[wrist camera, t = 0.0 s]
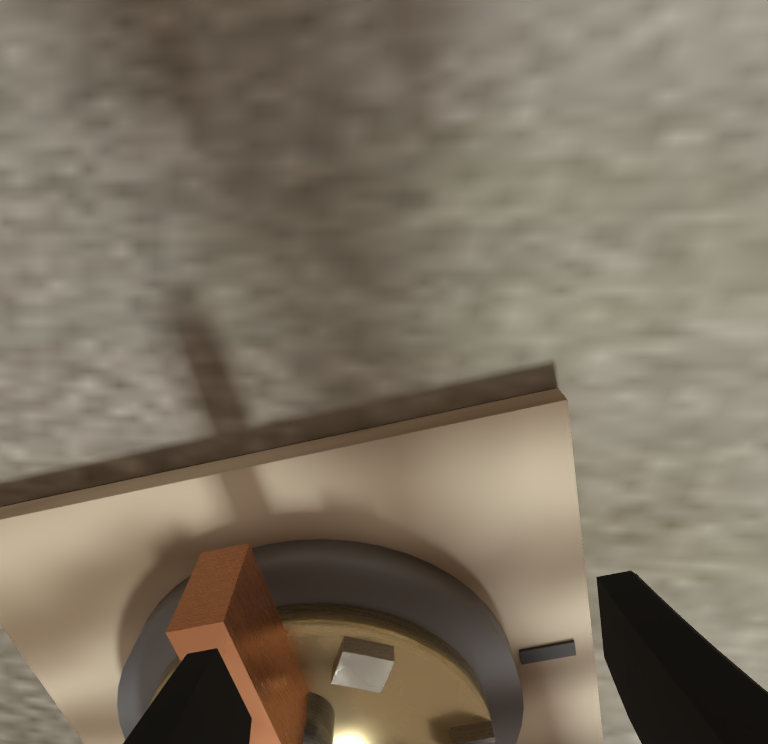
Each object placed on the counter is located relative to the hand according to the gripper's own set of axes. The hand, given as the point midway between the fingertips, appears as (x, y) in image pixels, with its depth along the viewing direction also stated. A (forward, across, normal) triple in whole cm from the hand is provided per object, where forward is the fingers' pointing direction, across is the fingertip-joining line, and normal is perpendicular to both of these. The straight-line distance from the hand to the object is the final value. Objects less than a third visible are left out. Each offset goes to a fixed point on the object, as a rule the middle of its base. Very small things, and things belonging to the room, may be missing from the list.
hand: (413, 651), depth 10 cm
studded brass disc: (+7, +6, +11) cm, 14 cm away
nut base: (+10, +6, +12) cm, 17 cm away
